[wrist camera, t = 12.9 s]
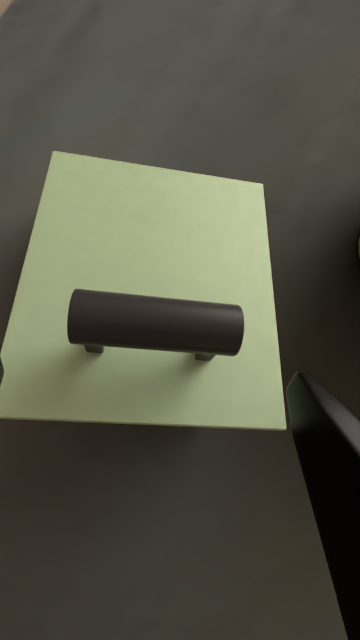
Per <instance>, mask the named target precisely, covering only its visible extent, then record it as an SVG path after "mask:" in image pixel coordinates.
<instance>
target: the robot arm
mask: <svg viewBox="0 0 360 640" xmlns="http://www.w3.org/2000/svg"><path fill="white" fill-rule="evenodd" d="M3 376H4V367H3V364H2V360H1V357H0V386H1V383H2V379H3ZM286 397H287V403H288V409H289V415H290V421H291V428H292V433H293V438H294V442H295V446H296V450H297V454H298V457H299V461H300V465H301V468H302V472H303V476H304V479H305V483H306V487H307V490H308V494H309V498H310V501H311V505H312V508H313V512H314V516H315V519H316V523H317V527H318V530H319V534H320V538H321V541H322V545H323V549H324V552H325V556H326V560H327V563H328V567H329V571H330V574H331V578H332V582H333V585H334V589H335V593H336V595H337V601H338V604H339V608H340V612H341V615H342V619H343V622H344V626H345V630H346V633H347V637H348V640H360V419H359V418H358V417H357V416H356V415H354V414H353V413H352V412H351V411H350V410H349V409H348V408H347V407H346V406H345V405H344V404H343V403H342V402H341V401H340V400H339V399H338V398H336V397H335V396H334V395H333V394H332V393H331V392H330V391H329V390H328V389H327V388H326V387H325V386H324V385H323V384H322V383H321V382H320V381H318V380H317V379H316V378H315V377H314V376H313V375H312V374H311V373H309V372H296V373H295V374H294V376H293V378H292V379H291V381H290V383H289V384H288V386H287V389H286Z"/></svg>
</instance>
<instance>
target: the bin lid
mask: <svg viewBox="0 0 360 640" xmlns="http://www.w3.org/2000/svg"><path fill="white" fill-rule="evenodd" d="M0 357H1V360H2V364H3V367H4V376H3V379H2V383H1V386H0V419H21V420H44V421H67V422H90V423H113V424H136V425H159V426H182V427H205V428H228V429H251V430H274V431H282V430H286V419H285V408H284V398H283V388H282V377H281V367H280V357H279V346H278V336H277V326H276V315H275V305H274V295H273V284H272V274H271V264H270V253H269V243H268V233H267V222H266V212H265V202H264V191H263V184H259V183H253V182H246V181H240V180H234V179H227V178H221V177H215V176H208V175H202V174H196V173H190V172H183V171H177V170H171V169H164V168H158V167H152V166H146V165H139V164H133V163H127V162H120V161H114V160H108V159H102V158H95V157H89V156H83V155H76V154H70V153H64V152H58V151H53V153H52V157H51V161H50V165H49V168H48V172H47V176H46V180H45V184H44V188H43V191H42V195H41V199H40V203H39V207H38V211H37V215H36V218H35V222H34V226H33V230H32V234H31V238H30V242H29V245H28V249H27V253H26V257H25V261H24V265H23V268H22V272H21V276H20V280H19V284H18V288H17V292H16V295H15V299H14V303H13V307H12V311H11V315H10V319H9V322H8V326H7V330H6V334H5V338H4V342H3V345H2V349H1V353H0Z"/></svg>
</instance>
